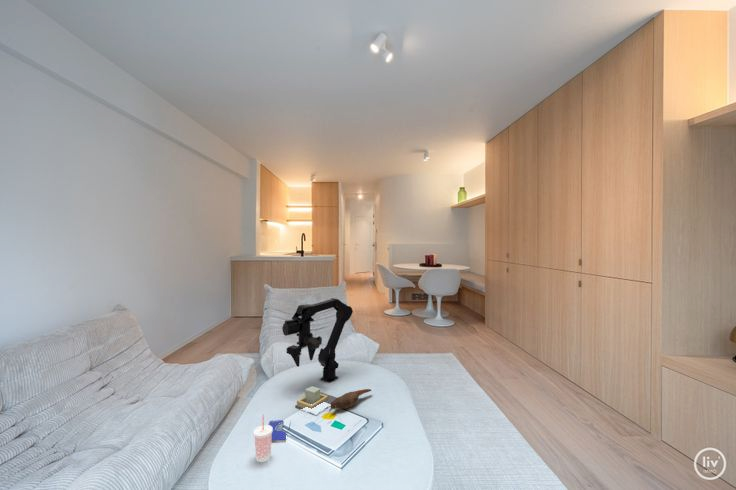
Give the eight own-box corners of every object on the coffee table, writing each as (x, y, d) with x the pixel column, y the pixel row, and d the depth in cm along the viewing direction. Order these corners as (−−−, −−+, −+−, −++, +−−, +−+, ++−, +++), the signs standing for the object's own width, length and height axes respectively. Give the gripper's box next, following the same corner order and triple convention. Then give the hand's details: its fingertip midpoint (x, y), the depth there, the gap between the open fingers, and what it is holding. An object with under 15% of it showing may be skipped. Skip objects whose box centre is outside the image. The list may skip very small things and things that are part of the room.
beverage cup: (266, 448, 109) (265, 408, 109) (276, 456, 105) (276, 414, 105) (249, 458, 105) (249, 415, 104) (260, 466, 101) (259, 422, 101)
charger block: (311, 399, 141) (311, 386, 141) (320, 402, 138) (320, 388, 138) (305, 403, 138) (305, 389, 138) (314, 406, 135) (314, 392, 135)
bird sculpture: (375, 397, 145) (375, 386, 145) (333, 420, 127) (333, 407, 127) (364, 392, 150) (364, 382, 149) (323, 413, 131) (323, 401, 131)
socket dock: (318, 393, 149) (318, 387, 149) (339, 400, 142) (339, 393, 142) (295, 407, 136) (295, 400, 136) (316, 415, 130) (316, 408, 130)
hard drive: (269, 420, 125) (262, 440, 112) (290, 419, 125) (285, 439, 113) (269, 424, 125) (262, 444, 112) (290, 423, 125) (285, 443, 113)
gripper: (303, 339, 142) (303, 373, 142) (329, 329, 158) (329, 360, 158) (285, 335, 148) (285, 368, 148) (312, 326, 164) (312, 356, 164)
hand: (304, 363), depth 155 cm, fingers open, 9 cm apart
